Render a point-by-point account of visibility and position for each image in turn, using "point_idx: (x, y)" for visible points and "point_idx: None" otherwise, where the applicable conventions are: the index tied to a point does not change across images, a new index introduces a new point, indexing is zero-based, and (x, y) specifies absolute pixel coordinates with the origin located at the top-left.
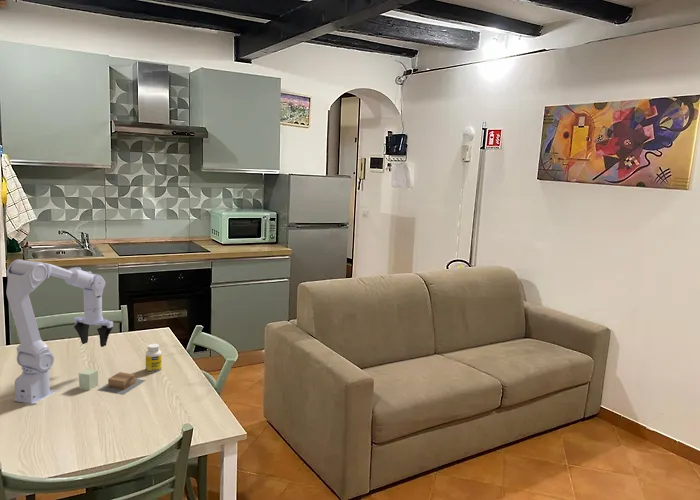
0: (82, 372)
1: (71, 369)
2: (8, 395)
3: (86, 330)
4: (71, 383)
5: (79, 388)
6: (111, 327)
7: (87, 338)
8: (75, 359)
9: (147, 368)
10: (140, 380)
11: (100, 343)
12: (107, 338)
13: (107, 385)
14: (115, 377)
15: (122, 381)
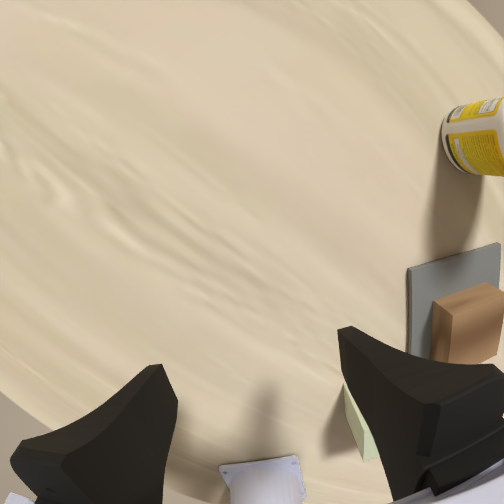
0: (372, 453)
1: (139, 323)
2: (197, 496)
3: (128, 445)
4: (273, 404)
5: (347, 419)
6: (502, 401)
7: (151, 383)
8: (50, 234)
9: (478, 174)
10: (489, 256)
11: (354, 393)
12: (385, 347)
13: (418, 355)
14: (462, 356)
15: (492, 356)
